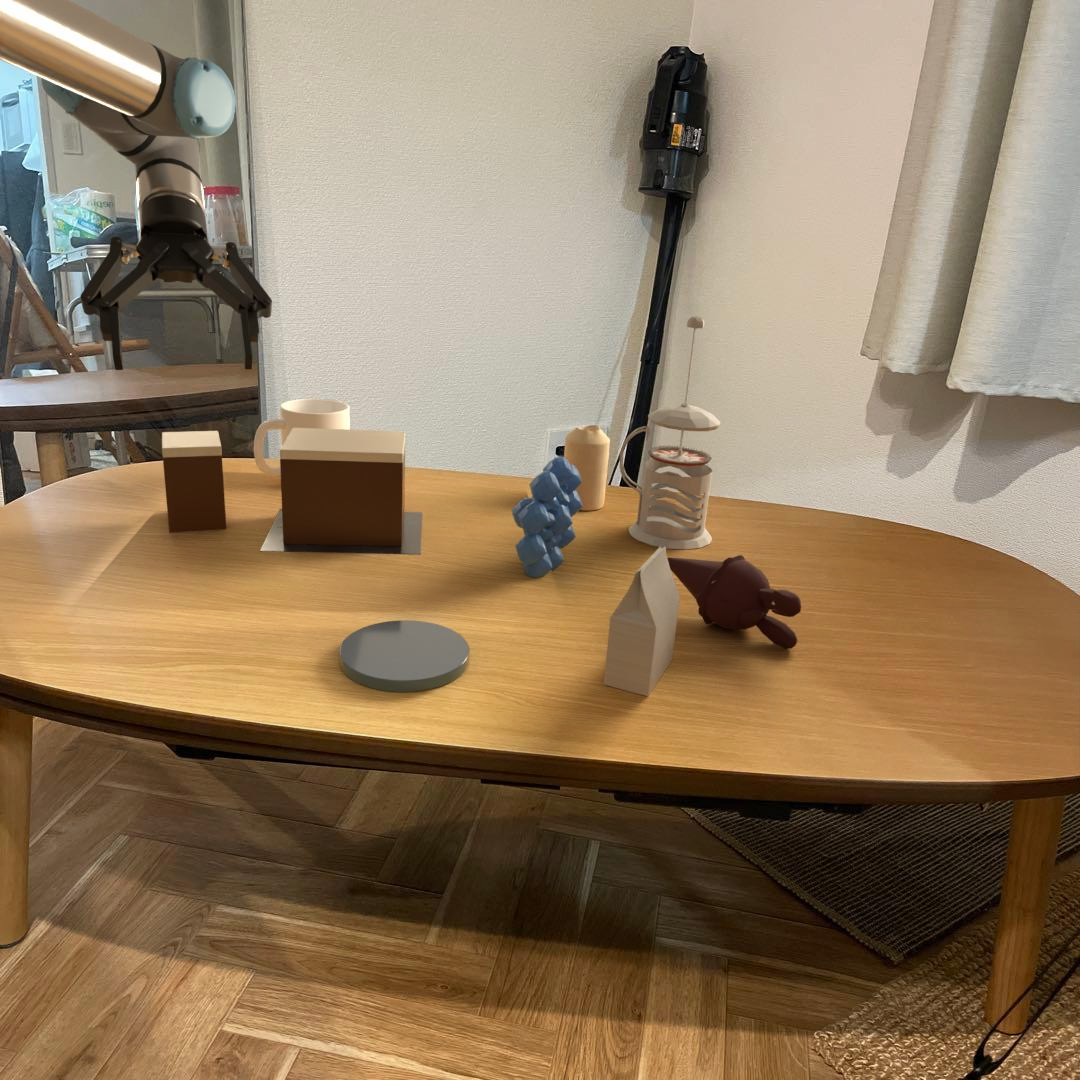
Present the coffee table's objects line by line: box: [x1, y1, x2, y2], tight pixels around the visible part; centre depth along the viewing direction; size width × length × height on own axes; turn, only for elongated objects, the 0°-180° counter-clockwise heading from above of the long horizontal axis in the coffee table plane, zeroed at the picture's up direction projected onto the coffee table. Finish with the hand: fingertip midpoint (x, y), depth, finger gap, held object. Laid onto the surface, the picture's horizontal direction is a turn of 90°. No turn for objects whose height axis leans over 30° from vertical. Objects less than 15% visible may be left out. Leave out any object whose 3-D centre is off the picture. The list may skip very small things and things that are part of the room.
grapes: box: [511, 456, 583, 578], centre depth 90 cm, size 12×7×12 cm, turn 155°
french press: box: [619, 316, 721, 550], centre depth 101 cm, size 10×12×25 cm
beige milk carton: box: [603, 546, 681, 697], centre depth 72 cm, size 4×7×10 cm, turn 156°
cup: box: [253, 398, 351, 478], centre depth 111 cm, size 8×12×10 cm
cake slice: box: [161, 430, 227, 534], centre depth 95 cm, size 6×6×10 cm
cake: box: [279, 428, 406, 546], centre depth 95 cm, size 12×9×10 cm
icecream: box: [667, 554, 802, 650], centre depth 82 cm, size 7×7×15 cm
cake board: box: [259, 508, 423, 555], centre depth 97 cm, size 16×13×1 cm
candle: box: [563, 424, 611, 511], centre depth 112 cm, size 6×6×10 cm
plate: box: [338, 619, 470, 693], centre depth 73 cm, size 10×10×1 cm
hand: (184, 363), depth 100 cm, fingers open, 13 cm apart
